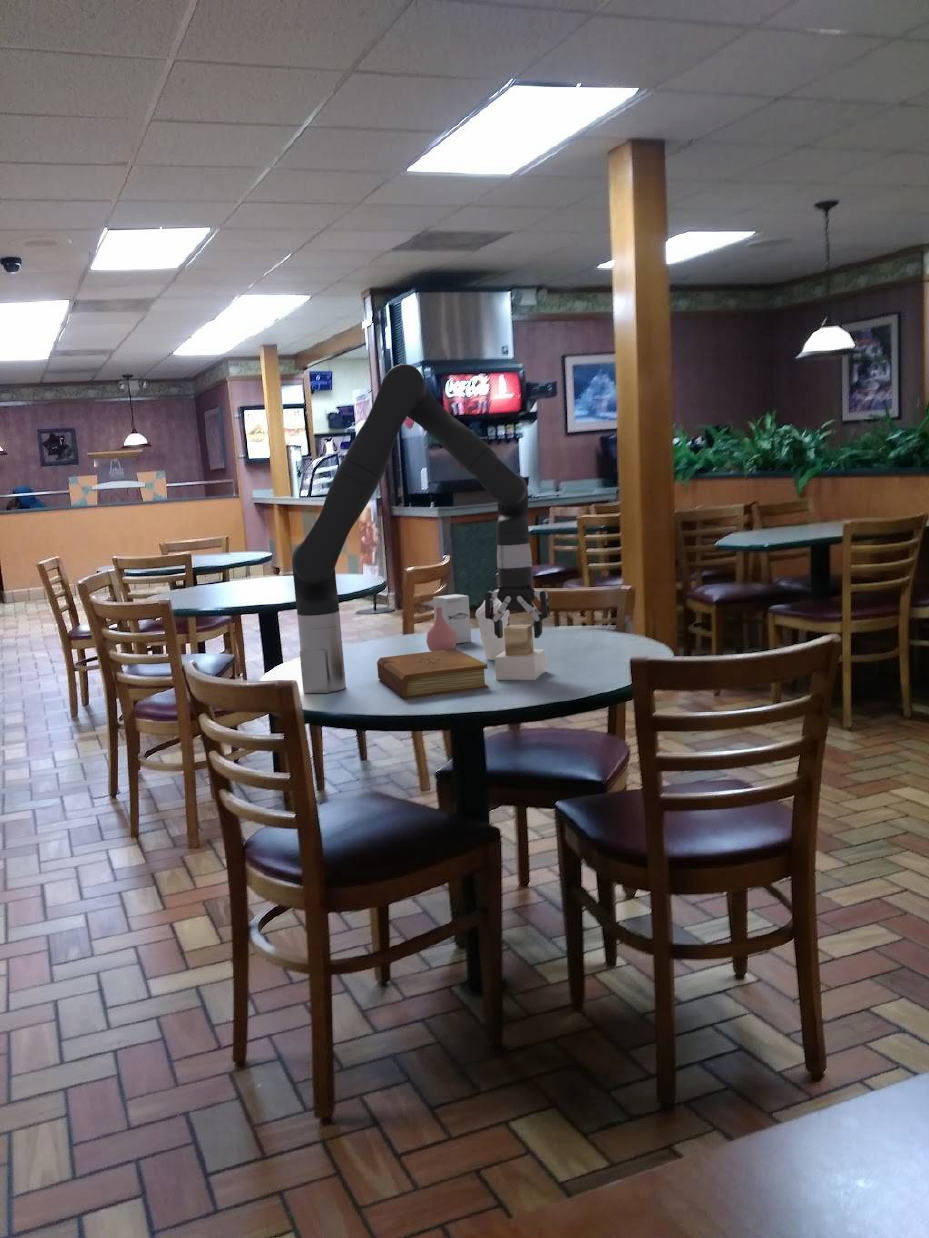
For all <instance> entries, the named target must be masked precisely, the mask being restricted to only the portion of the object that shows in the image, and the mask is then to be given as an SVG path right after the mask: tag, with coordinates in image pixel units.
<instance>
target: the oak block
mask: <svg viewBox="0 0 929 1238" xmlns="http://www.w3.org/2000/svg"><path fill="white" fill-rule="evenodd" d="M533 634H534V631H533V624H509V625H507V627H506V628H504V638H505V653H506V655H529V654H530V653H532V652H533V651H534V649H535V648H534V637H533V636H534V635H533Z"/></svg>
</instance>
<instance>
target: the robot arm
mask: <svg viewBox="0 0 929 1238" xmlns="http://www.w3.org/2000/svg"><path fill="white" fill-rule="evenodd" d="M407 418H409V420H411V421H413V422H414V423H416V424H417V425H419V426H420V427H421V428H422V429H424V431H426V432H427V433H428V434H430V436H432V438H433V439H435V441H436V442H438V443H439V444H440V446H442V448H443V449H445V451H446V452H447V453H448V454H450V456H451V457H452V458H453V459H454V460H455V461H456V462H458V464H459V465H461V467H462V468H464V469H465V470H466V471H467V472H468V473H469V474H470V475H471V476H473V477H474V478H475V479H476V480H477V481H478V482H479V484H480V485H481V486H482V487H483V489H485V491H487V492H488V494H489V495H490V496H491V497H492V498H493V499H494V500H495V501H496V502H497V515H498V516H497V517H498V518H497V522H496V541H497V548H496V549H497V550H496V562H497V581H498V592H496V591H493V590H489V591H487V592H485V594H484V600H485V617H486V619H491V620H493V621H494V632H495V635H496V636H497V638H502V637H503V625H502V620H501V618H502V617H503V615H504V614H505V612H506V611H507V610H509V612H514V611H518V612H523V611H526V612H527V613H528V614H529V615H530V616H531V617H532V618H533V620H534V621H533V634H534V635H533V636H534V637H533V638H534V639H539V638H540V637H541V636H542V635H543V620H544V619H548V617H550V616H551V609H550V608H551V607H550V602H549V601H550V600H549V592H548V590H547V589H543V590H538V591H535V589H534V583H533V582H534V581H533V579H534V578H533V558H532V551H531V550H532V549H531V544H530V535H529V534H530V529H529V523H528V516H529V515H528V510H529V489H528V483H527V481H526V479H525V478H524V476H522V475H521V474H520V473H517V472H514V471H513V470H511V469H510V468H509V466H507V465H506V464H505V463H504V462H503V461H502V460H501V459H500V458H499V456H498V454H496V452H495V451H494V450H493V449H492V448H491V447H490V446H489V445H488V444H487V443H486V442H485V441H484V440H483V439H481V437H480V436H478V435H477V434H476V433H475V432H474V431H472V430H471V429H470V428H469V427H467V426H466V425H465V424H464V423H462V422H461V421H459V419H457V418H455V417H454V416H453V415H452V414H451V413H449V412H448V410H446V409H445V408H444V407H443V406H442V405H441V404H440V403H439V401H438V400H437V399H436V398H435V396H434V395H433V394H432V392H431V391H430V390H429V388H428V386H427V385H426V381H425V379H424V376H423V374H422V373H421V372H420V370H419V369H418V368H416V367H415V366H414V365H411V364H408V363H400V364H397V365H395V366H393V367H392V368H390V369H389V370H388V371H387V373H385V375H384V377H383V379H382V381H381V385H380V387H379V389H378V392H377V394H376V397H375V400H374V401H373V404H372V406H371V409H370V411H369V414H368V416H367V418H366V419H365V421H364V423H363V424H362V426H361V428H360V430H359V431H358V432H357V434H356V436H355V437H354V438H353V440H352V442H351V445H350V446H349V448H348V450H347V451H346V453H345V455H344V456H343V459H341V460H342V461H341V462H340V464H339V466H338V468H337V470H336V471H335V474H334V476H333V478H332V481H331V484H330V485H329V487H328V491H327V494H326V496H325V499H324V503H323V504H322V505H323V506H322V509H321V511H320V512H319V515H318V518H317V520H316V521H315V523H314V524H313V526H312V527H311V529H310V531H309V532H308V534H307V535H306V537H305V538H304V540H303V541H301V542H300V543H299V544H298V545H297V546H296V547H295V548H294V550H293V552H292V555H291V556H292V557H291V566H292V575H293V585H294V586H293V587H294V597H295V605H296V606H295V607H296V615H297V623H298V624H297V627H298V638H299V647H300V651H299V661H300V670H301V681H302V690H303V691H302V692H303V694H330V693H333V692H338V691H340V690H341V691H342V690H343V689H345V688H346V687H347V681H346V671H345V670H346V669H345V661H344V650H343V637H342V627H341V626H342V625H341V623H342V622H341V616H340V615H341V613H340V602H339V601H340V600H339V593H338V587H337V586H338V585H337V576H336V567H337V563H338V560H339V558H340V555H341V552H342V550H343V547H344V546H345V542H346V540H347V538H348V536H349V533H350V532H351V530H352V528H353V526H355V524H356V522H357V521H358V519H359V517H360V516H361V515H362V513H363V512H364V510H365V508H366V507H367V505H368V503H369V502H370V500H371V498H373V497H372V496H373V495H374V493H375V491H377V490H376V489H377V488H378V486H379V484H380V482H381V481H382V478H383V476H384V474H385V472H386V469H387V466H388V464H389V461H390V457H391V455H392V451H393V448H394V444H395V442H396V439H397V436H398V434H399V432H400V429H402V427H403V424H404V423H405V421H406V420H407ZM496 598H498V599H499V600H500V601H501V603H502V605H501V606H500V608H499V609H498V611H497V613H496V614H494V601H495V600H496ZM535 598H537V601H539V602H540V609H541V612H540V611H539V609H538V607H537V606H536V605H535V604H534V603H533V600H534V599H535Z"/></svg>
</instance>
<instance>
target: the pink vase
mask: <svg viewBox="0 0 929 1238" xmlns="http://www.w3.org/2000/svg"><path fill="white" fill-rule="evenodd" d="M436 614H437V617H436V620H435V619H434V622H433V625H432V626H431V628H429V629H428V631H427V633H426V645H427V648H428V651H429V652H431V651H439V650H447V649H456V644H457V643H456V636H455V632H454V630H453V629H452V628H451V627H450V626H449V625H448V624H447V623H446V621H445V619H444V618H443V615H442V607H436Z"/></svg>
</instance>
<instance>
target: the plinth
mask: <svg viewBox="0 0 929 1238" xmlns="http://www.w3.org/2000/svg"><path fill="white" fill-rule="evenodd" d="M533 649H534V651H533V652H532V653H530V654H529V655H506V653H505V651H503V652H502V653H500V654H499V655H497V656H496V657H495V660H494V666H495V667H494V668H495V669H494V670H495V680H500V681H501V680H502V681H503V680H505V681H511V680H513V681H517V680H518V681H519V680H520V681H522V680H523V681H532V680H533V681H535V680H537V679H539V678H540V677H541V676H542V675H543V674H545V673H546V672H547V667H546V666H547V665H546V649H545V648H543V649H542V648H541V649H540V648H539V649H538V648H533ZM542 673H543V674H542ZM541 674H542V675H541ZM540 675H541V676H540ZM539 676H540V677H539Z"/></svg>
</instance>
